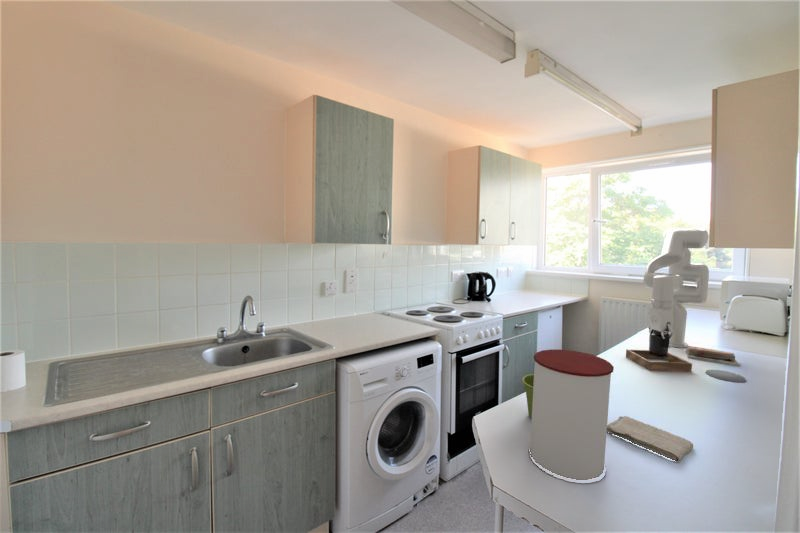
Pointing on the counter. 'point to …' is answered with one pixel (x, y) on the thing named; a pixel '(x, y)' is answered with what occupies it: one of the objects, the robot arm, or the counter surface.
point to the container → (570, 413)
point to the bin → (671, 365)
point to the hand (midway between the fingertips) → (658, 344)
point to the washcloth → (651, 438)
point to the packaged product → (711, 355)
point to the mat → (725, 375)
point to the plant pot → (529, 391)
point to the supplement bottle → (657, 345)
